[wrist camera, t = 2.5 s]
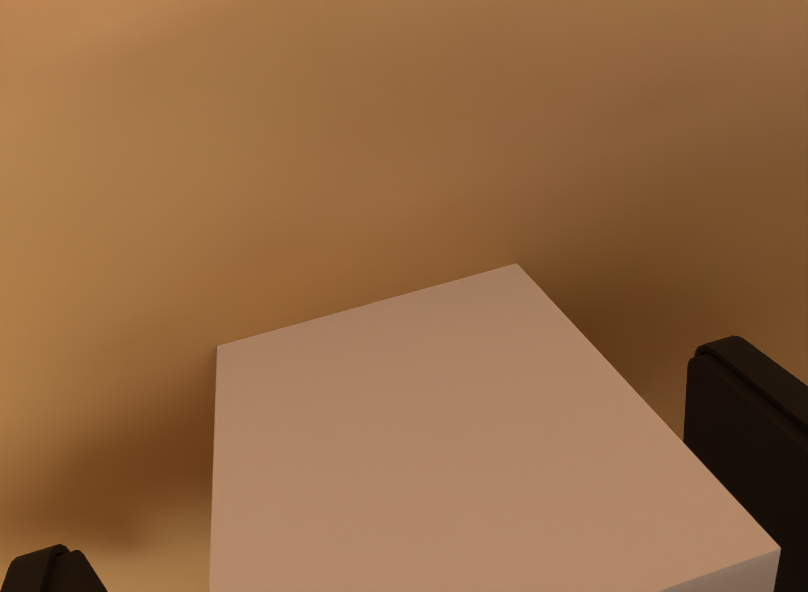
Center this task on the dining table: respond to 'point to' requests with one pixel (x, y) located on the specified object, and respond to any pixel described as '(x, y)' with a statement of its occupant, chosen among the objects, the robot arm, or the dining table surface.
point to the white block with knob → (459, 459)
